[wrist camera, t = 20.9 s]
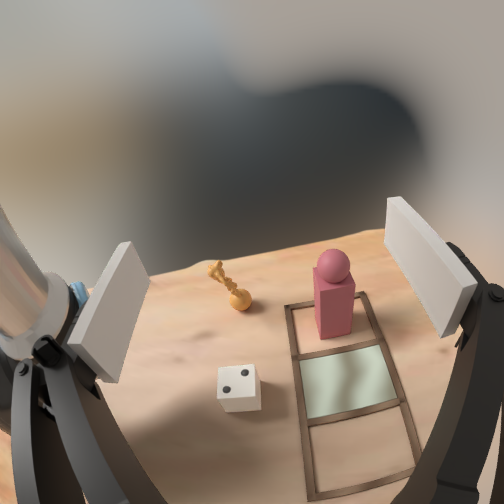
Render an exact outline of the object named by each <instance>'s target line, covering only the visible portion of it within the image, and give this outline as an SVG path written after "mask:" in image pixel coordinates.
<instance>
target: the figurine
mask: <svg viewBox="0 0 504 504" xmlns="http://www.w3.org/2000/svg"><path fill="white" fill-rule="evenodd" d="M222 265H223V263H222V262H221V261H220V260H218V261H216V263H215V264H214V265H209V266H208V267H209V269H208V275H209V276H210V277H211V278H213V279H214V280H217V281H218V282H220V283H223V284H224V285H225V286H227V288H228V290H229V291H231V296H230V304H231V306H232V307H233V308H234V309H236V310H240V311H242V310H245V309H247V308H248V307H249V306H250V304H251V301H252V298H251V295H250V293H249V292H248V291H247V290H245V289H236V288H237V284H236V283H234V282H232V279H231V278H228V277H225V273H224V270H223V269H222V268H221V267H222Z"/></svg>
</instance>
